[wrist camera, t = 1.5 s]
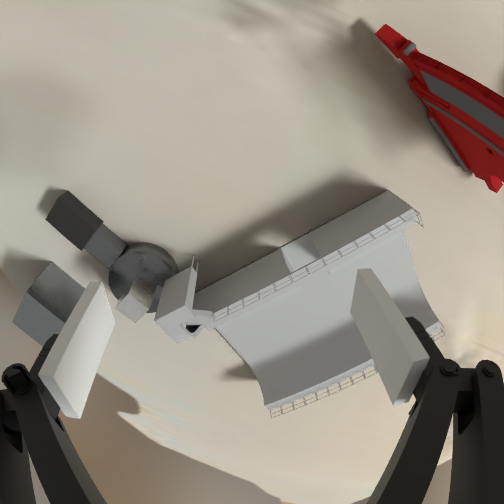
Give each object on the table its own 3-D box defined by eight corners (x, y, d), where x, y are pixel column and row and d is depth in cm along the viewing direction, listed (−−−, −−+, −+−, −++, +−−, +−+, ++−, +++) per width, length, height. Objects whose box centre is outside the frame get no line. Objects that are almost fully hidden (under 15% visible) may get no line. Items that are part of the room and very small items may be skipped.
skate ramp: (266, 380, 53) (272, 431, 44) (168, 268, 42) (153, 320, 32) (422, 303, 48) (452, 345, 38) (374, 155, 36) (420, 179, 27)
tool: (361, 47, 28) (573, 163, 12) (387, 19, 26) (596, 117, 10) (429, 153, 44) (544, 255, 28) (447, 131, 43) (564, 227, 26)
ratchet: (47, 224, 37) (18, 251, 30) (78, 175, 35) (47, 196, 28) (153, 310, 45) (142, 348, 38) (192, 272, 42) (185, 309, 35)
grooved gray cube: (35, 291, 42) (12, 321, 35) (51, 261, 40) (26, 292, 33) (70, 319, 45) (52, 353, 38) (90, 293, 43) (71, 327, 36)
